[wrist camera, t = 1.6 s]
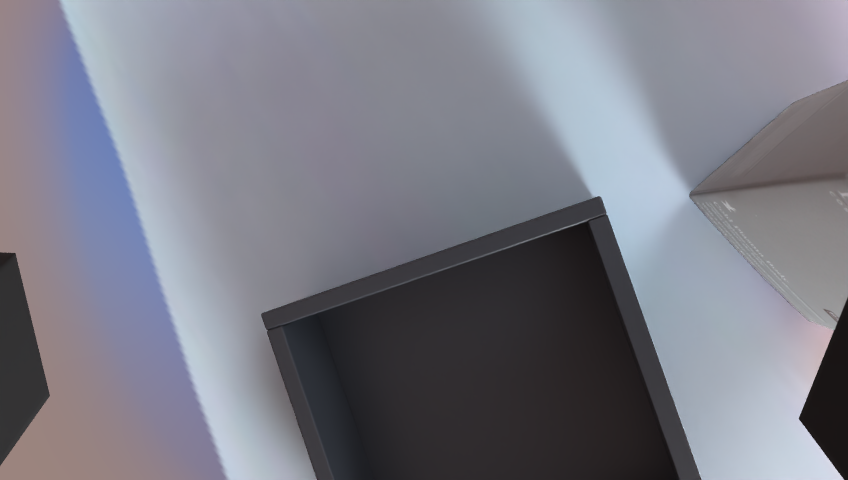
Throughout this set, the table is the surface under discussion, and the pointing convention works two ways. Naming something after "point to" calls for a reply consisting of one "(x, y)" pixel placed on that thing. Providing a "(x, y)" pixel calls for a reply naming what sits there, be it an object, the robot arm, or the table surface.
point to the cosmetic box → (791, 203)
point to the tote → (485, 364)
